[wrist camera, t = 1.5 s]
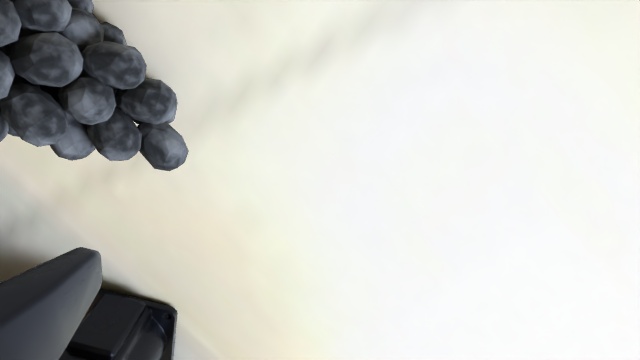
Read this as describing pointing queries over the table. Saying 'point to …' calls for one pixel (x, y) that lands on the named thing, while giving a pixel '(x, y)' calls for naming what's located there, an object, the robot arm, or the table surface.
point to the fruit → (81, 86)
